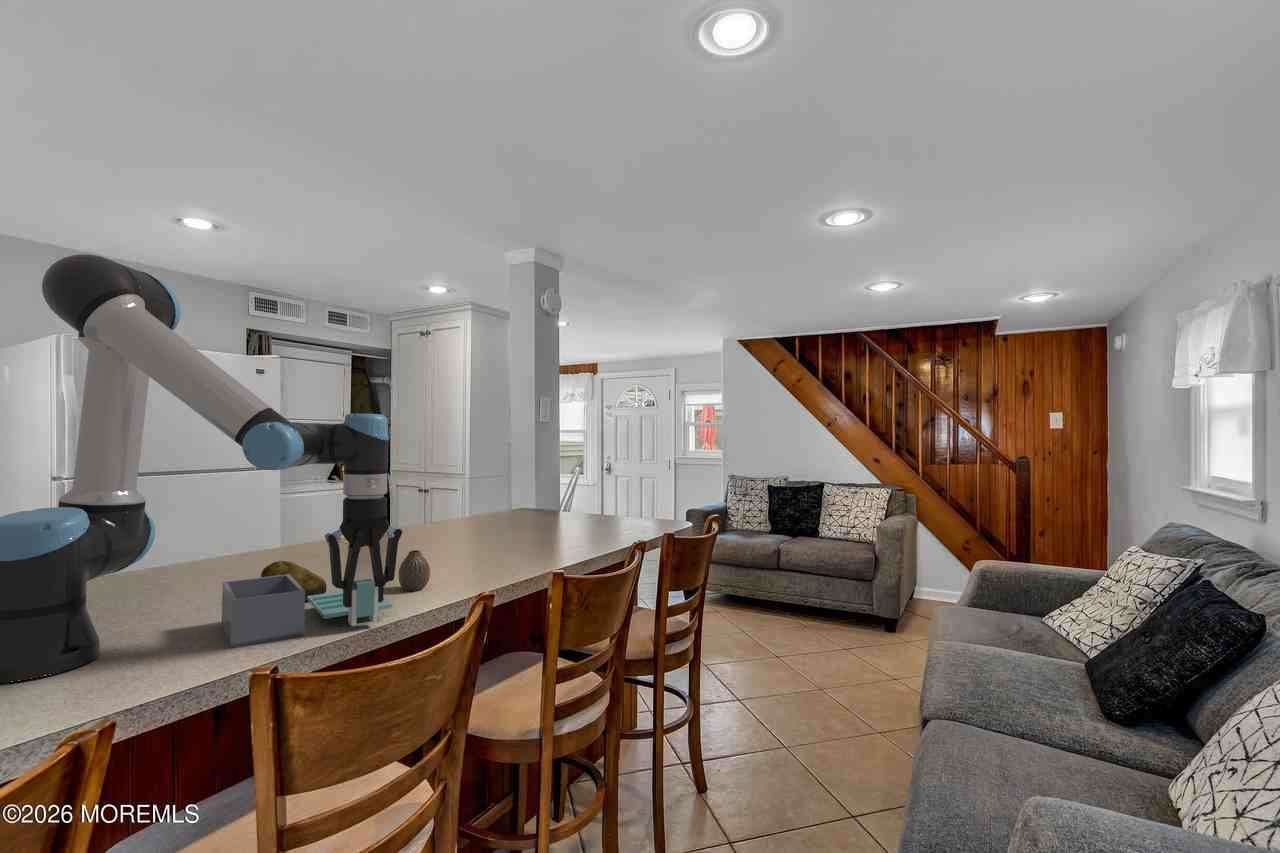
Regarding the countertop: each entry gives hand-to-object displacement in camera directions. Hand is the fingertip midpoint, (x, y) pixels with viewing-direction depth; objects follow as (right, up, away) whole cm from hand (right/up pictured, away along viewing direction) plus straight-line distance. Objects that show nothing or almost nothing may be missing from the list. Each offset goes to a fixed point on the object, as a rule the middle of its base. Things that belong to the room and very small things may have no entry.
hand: (362, 621), depth 116 cm
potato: (-23, -1, +18) cm, 29 cm away
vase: (-1, -1, +28) cm, 28 cm away
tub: (-17, -1, -2) cm, 18 cm away
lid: (-5, +1, +6) cm, 8 cm away
